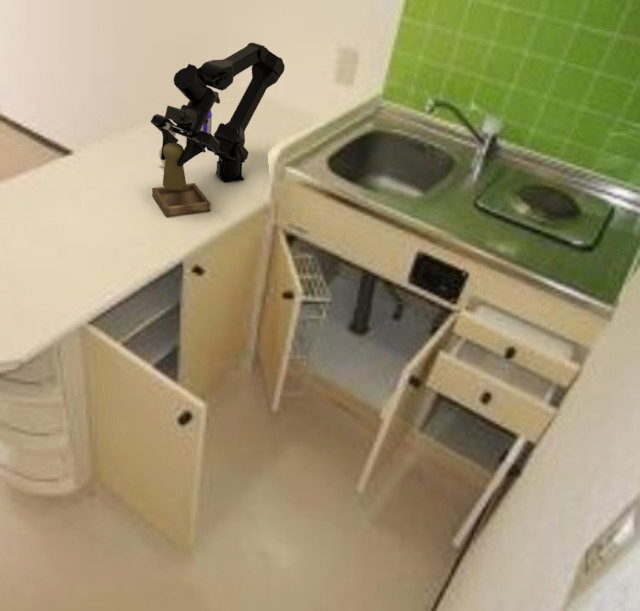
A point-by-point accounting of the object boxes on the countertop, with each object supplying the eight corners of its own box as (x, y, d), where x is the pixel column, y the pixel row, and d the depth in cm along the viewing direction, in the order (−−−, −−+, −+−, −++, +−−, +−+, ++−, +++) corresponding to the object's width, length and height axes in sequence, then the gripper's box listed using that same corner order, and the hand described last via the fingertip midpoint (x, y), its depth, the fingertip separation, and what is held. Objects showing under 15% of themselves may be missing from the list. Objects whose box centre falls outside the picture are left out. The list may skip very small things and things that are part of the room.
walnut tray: (194, 191, 179) (194, 183, 178) (210, 211, 171) (210, 203, 170) (152, 196, 174) (152, 188, 172) (166, 217, 166) (166, 209, 164)
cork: (182, 191, 165) (181, 151, 159) (159, 187, 166) (157, 148, 159) (188, 180, 170) (188, 141, 163) (166, 177, 170) (165, 138, 164)
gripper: (153, 82, 160) (124, 137, 159) (213, 103, 153) (183, 161, 152) (175, 104, 170) (148, 156, 169) (232, 125, 164) (204, 179, 163)
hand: (170, 162), depth 163 cm, fingers closed on cork, 5 cm apart
